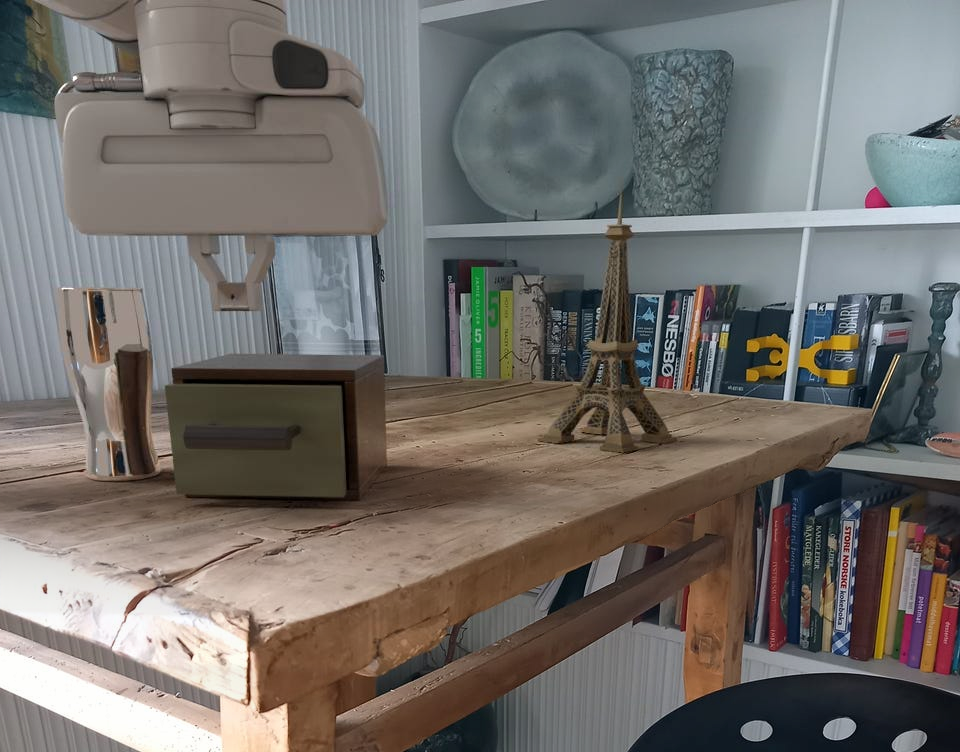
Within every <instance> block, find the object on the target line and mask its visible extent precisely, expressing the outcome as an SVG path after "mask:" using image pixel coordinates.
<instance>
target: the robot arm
mask: <svg viewBox="0 0 960 752" xmlns="http://www.w3.org/2000/svg"><path fill="white" fill-rule="evenodd" d="M32 1H33V2H35V3H37V4H40V5H42V6H44V7H46V8H48V9H50V10H51V11H53V12H55V13H57V14H58V15H61V16H62V17H65V18H66V19H69V20H71V21H73V22H75V23H77V24H80V25H81V26H84V27H85V28H88V29H90V30H91V31H94V32H95V33H96V34H98V35H99V36H100V37H102V38H104V39H105V40H106V41H108V42H110V43H111V44H113V45H115V46H116V47H118V48H119V49H121V50H122V51H124V52H126V53H127V54H131V55H133V56H137V57H139V63H140V70H134V71H114V72H108V73H96V72H93V71H81V72H77V73H74V74H73V76H72V79H71V80H69V81H67V82H65V83H64V84H62V85H61V87H60V88H59V89H58V92H57V93H56V95H55V97H54V114H55V120H56V126H57V132H58V135H59V137H60V140H61V142H62V148H61V149H62V151H61V153H62V154H61V155H62V159H61V161H62V162H61V163H62V188H63V200H64V202H63V203H64V210H65V214H66V217H67V219H68V220H69V222H70V223H71V225H73V227H74V228H75V229H76V230H77V231H78V232H79V233H80V234H82V235H87V236H95V237H97V236H99V237H167V236H168V237H169V236H170V237H177V236H178V237H179V236H180V237H184V236H185V237H187V245H188V253H189V256H190V257H191V259H192V260H193V262H194V264H195V265H196V267H197V268H198V270H199V272H200V273H201V274H202V276H203V278H204V279H205V281H206V282H207V283H209V291H210V301H211V308H212V310H213V311H214V312H261V311H263V296H262V295H263V293H262V283H263V282H264V280H265V278H266V276H267V274H268V271H269V270H270V267H271V265H272V263H273V262H274V259H275V256H276V244H275V243H276V242H275V236H278V237H279V236H282V237H283V236H378V235H379V234H380V233H381V232H382V230H383V229H384V227H385V226H386V225H387V223H388V221H389V203H388V202H389V201H388V200H389V199H388V190H387V189H388V187H387V180H386V174H385V165H384V160H383V159H384V158H383V153H382V149H381V145H380V140H379V137H378V134H377V132H376V130H375V128H374V126H373V124H372V123H371V121H370V120H369V119H368V118H367V117H366V115H365V114H364V113H363V112H362V111H361V110H360V109H362V108H363V105H364V103H365V98H366V97H365V95H366V94H365V92H366V91H365V90H366V89H365V81H364V78H363V75H362V73H361V71H360V70H359V69H358V67H357V66H356V64H355V63H353V62H352V61H351V60H350V59H349V58H347V57H346V56H345V55H343V54H342V53H340V52H339V51H337V50H335V49H332V48H329V47H326V46H324V45H320V44H318V43H314V42H311V41H309V40H306V39H303V38H300V37H297V36H294V35H291V34H289V33H288V31H289V30H288V17H287V8H286V4H285V0H32ZM72 89H75V91H76V92H70V91H71V90H72ZM220 236H221V237H222V236H223V237H224V236H230V237H231V236H235V237H237V236H238V237H239V236H240V237H241V236H244V246H245V247H244V248H245V253H247V254H249V255H250V254H251V255H253V258H252V261H251V263H250V265H249V267H248V270H247V273H246V275H245V277H244V280H243V282H242V281H240V282H236V281H235V282H232V281H231V282H230V281H229V282H228V279H227V278H226V277H225V275H224V273H223V271H222V270H221V268H220V266H219V265H218V263H217V261H216V260H215V258H214V257H213V255H220V253H221V246H220V245H221V244H220Z"/></svg>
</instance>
